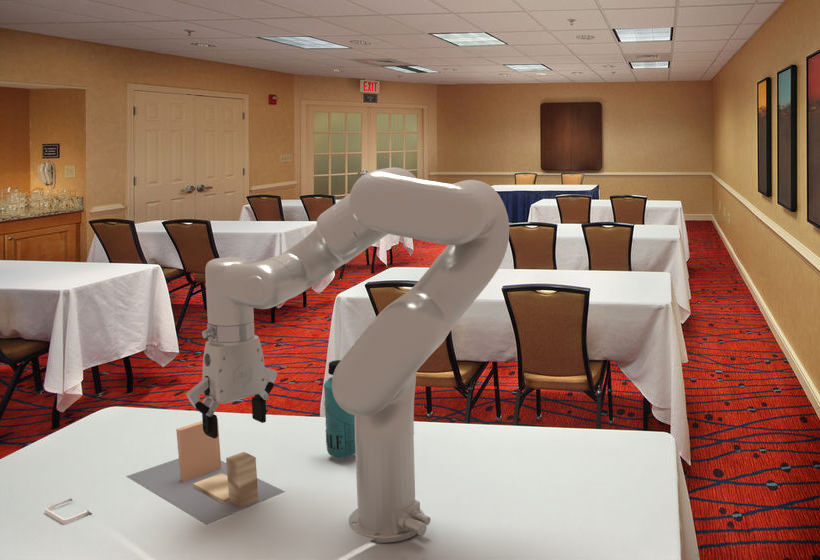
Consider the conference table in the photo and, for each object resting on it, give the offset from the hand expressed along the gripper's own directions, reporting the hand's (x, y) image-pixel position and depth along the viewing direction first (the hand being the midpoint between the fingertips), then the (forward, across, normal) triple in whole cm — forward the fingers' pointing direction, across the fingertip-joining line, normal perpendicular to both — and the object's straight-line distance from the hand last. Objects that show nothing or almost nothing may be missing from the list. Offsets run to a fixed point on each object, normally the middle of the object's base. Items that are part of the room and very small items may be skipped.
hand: (235, 428), depth 136 cm
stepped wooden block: (+13, 0, +4) cm, 14 cm away
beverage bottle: (+14, +25, +2) cm, 29 cm away
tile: (+14, +1, +15) cm, 20 cm away
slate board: (+15, -1, +11) cm, 18 cm away
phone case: (+16, -16, +20) cm, 31 cm away
